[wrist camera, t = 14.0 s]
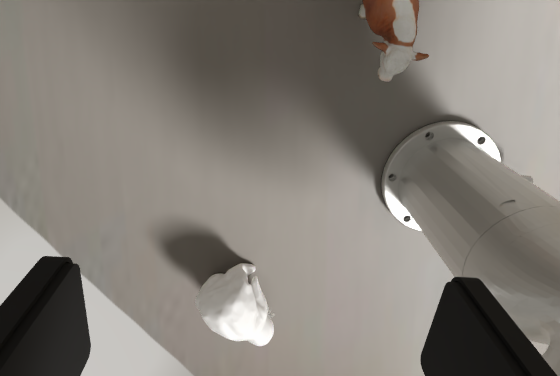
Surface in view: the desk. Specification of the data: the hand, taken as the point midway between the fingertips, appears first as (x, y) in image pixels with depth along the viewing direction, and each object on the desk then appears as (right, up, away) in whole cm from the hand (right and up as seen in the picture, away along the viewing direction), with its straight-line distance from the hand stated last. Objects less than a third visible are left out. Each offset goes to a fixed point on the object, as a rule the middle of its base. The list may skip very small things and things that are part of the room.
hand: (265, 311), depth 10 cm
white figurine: (-4, -9, +38) cm, 40 cm away
